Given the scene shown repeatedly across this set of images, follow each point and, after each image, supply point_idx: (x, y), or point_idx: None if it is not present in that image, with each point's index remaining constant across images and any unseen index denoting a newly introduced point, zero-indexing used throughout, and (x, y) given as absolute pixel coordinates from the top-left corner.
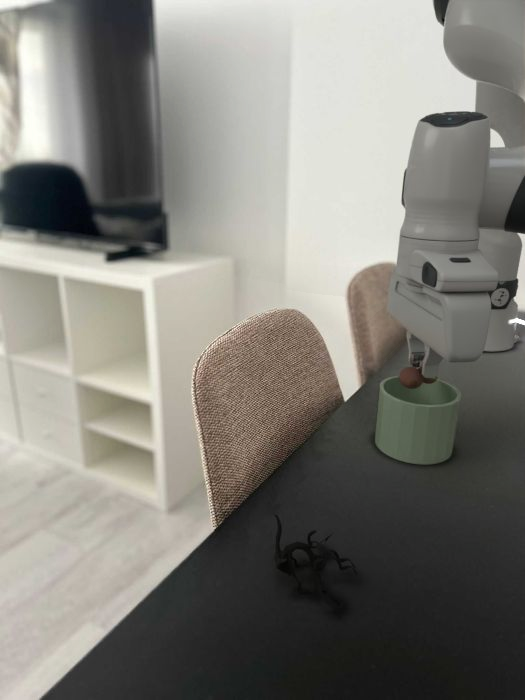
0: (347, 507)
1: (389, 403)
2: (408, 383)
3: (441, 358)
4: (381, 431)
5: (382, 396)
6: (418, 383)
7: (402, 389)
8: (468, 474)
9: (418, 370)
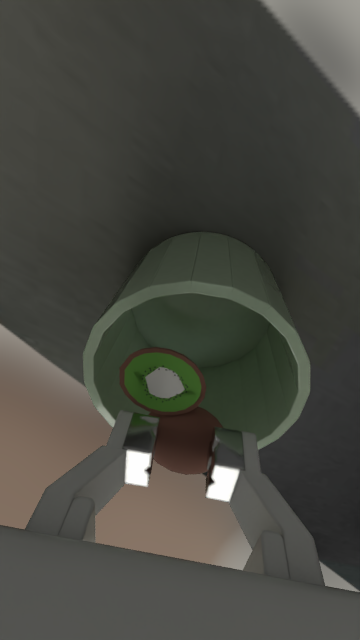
0: (320, 457)
1: None
2: None
3: (289, 511)
4: None
5: None
6: None
7: (107, 352)
8: (334, 268)
9: (191, 448)
